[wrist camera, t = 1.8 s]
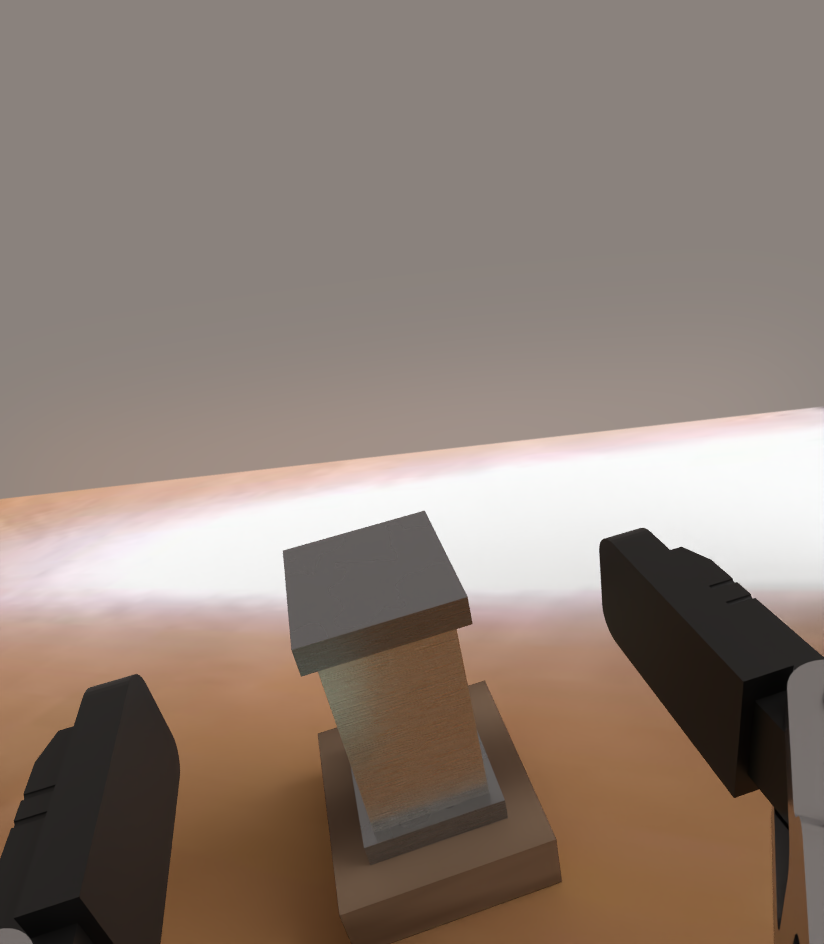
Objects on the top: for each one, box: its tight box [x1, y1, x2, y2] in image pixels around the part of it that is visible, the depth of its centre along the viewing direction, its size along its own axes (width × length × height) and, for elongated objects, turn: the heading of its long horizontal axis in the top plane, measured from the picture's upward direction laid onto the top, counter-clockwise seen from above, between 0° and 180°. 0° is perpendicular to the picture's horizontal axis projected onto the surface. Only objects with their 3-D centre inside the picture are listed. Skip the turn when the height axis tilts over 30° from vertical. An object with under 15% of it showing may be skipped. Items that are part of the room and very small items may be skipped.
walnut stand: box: [318, 681, 562, 944], centre depth 30 cm, size 9×9×3 cm
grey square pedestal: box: [283, 511, 508, 865], centre depth 27 cm, size 6×6×12 cm
